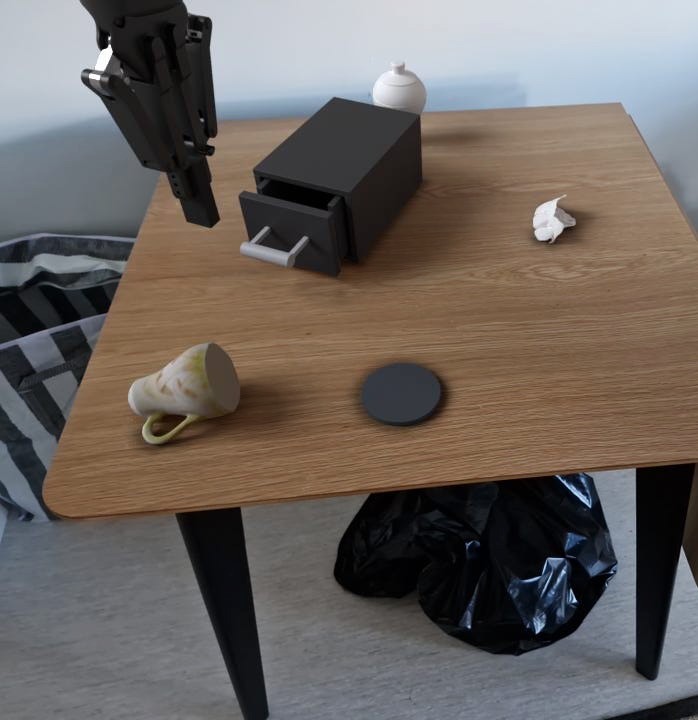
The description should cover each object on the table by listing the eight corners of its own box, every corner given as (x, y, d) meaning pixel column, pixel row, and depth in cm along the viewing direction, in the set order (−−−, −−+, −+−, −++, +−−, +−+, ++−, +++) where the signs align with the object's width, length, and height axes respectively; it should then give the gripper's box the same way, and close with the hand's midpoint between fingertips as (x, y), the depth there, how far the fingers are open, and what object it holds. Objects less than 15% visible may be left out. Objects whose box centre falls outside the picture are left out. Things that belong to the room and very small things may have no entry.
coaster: (421, 435, 70) (421, 431, 69) (347, 412, 72) (346, 408, 71) (452, 379, 75) (452, 375, 75) (382, 358, 77) (382, 354, 76)
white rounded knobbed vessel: (437, 138, 109) (436, 59, 101) (407, 160, 105) (403, 79, 96) (396, 124, 112) (392, 46, 103) (366, 144, 107) (358, 65, 99)
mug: (134, 390, 73) (160, 310, 69) (229, 420, 76) (260, 346, 72) (109, 435, 67) (136, 350, 62) (214, 466, 70) (246, 388, 65)
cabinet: (358, 263, 88) (349, 192, 81) (268, 240, 91) (252, 168, 83) (423, 182, 101) (420, 114, 94) (342, 163, 104) (333, 96, 96)
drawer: (315, 303, 81) (304, 243, 75) (228, 279, 84) (211, 219, 78) (402, 195, 97) (399, 138, 91) (327, 177, 99) (319, 121, 93)
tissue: (518, 233, 93) (520, 208, 90) (548, 204, 98) (550, 179, 95) (556, 248, 91) (560, 223, 88) (585, 218, 96) (588, 193, 93)
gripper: (97, -20, 46) (195, 271, 63) (218, -77, 54) (275, 193, 71) (4, -37, 47) (123, 251, 64) (135, -90, 56) (210, 177, 73)
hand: (203, 220), depth 68 cm, fingers closed
